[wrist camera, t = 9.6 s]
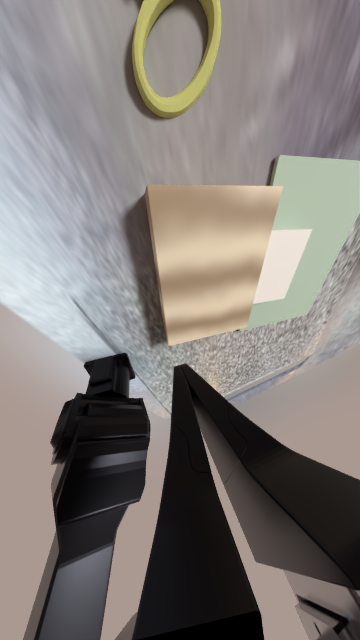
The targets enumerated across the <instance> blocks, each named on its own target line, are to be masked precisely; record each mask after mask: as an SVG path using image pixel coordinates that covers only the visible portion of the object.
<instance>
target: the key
mask: <svg viewBox="0 0 360 640" xmlns="http://www.w3.org/2000/svg"><path fill="white" fill-rule="evenodd" d="M173 1H174V0H144V1H143V3H142V6H141V9H140V12H139V15H138V18H137V21H136V24H135V29H134V36H133V43H132V63H133V71H134V77H135V81H136V84H137V88H138V90H139V92H140V95H141V97H142V99H143V101H144V102H145V104H146V106H147V107H148V108H149V109H150V110H151V111H152V112H153V113H155V114H156V115H157V116H160V117H163V118H173V117H177V116H179V115H181V114H183V113H184V112H185V111H187V110H188V109H189V108H190V107H191V106H192V105H193V104H194V103H195V102H196V101H197V99H198V98H199V97H200V95H201V94H202V92H203V91H204V89H205V87H206V85H207V83H208V81H209V78H210V76H211V73H212V70H213V66H214V63H215V59H216V56H217V51H218V47H219V42H220V33H221V8H220V0H198V1H199V2H200V3H201V5H202V7H203V9H204V11H205V14H206V17H207V20H208V43H207V47H206V50H205V53H204V56H203V59H202V62H201V64H200V67H199V69H198V70H197V72H196V74H195V76H194V77H193V79H192V80H191V82H190V83H189V84H188V85H187V86H186V87H185V88H184V89H183V90H182V91H181V92H180V93H178V94H176V95H175V96H173V97H169V98H163V97H159V96H158V95H157V94H155V93H154V92H153V90H152V89H151V88H150V86H149V84H148V82H147V79H146V76H145V72H144V68H143V53H144V48H145V43H146V40H147V37H148V34H149V31H150V29H151V28H152V26H153V24H154V22H155V21H156V19H157V18H158V16H159V15H160V13H161V12H162V11H163V10H164V9H165V8H166V7H167V6H168V5H169V4H171V3H172V2H173Z"/></svg>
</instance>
